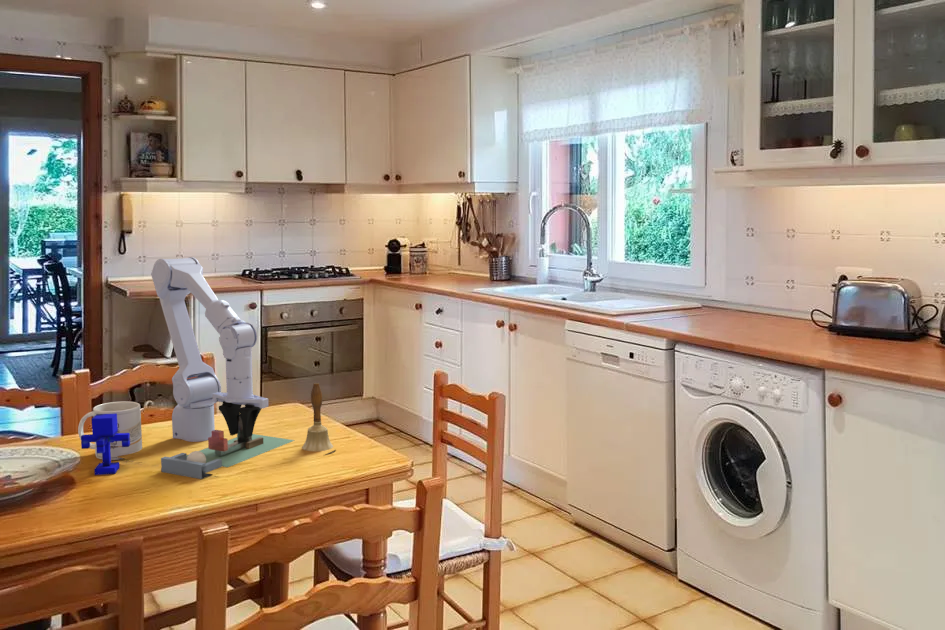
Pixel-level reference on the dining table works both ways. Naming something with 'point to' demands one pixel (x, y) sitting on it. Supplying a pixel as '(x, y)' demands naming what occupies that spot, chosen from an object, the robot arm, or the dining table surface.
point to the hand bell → (317, 426)
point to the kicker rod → (221, 443)
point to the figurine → (105, 441)
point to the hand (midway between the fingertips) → (241, 435)
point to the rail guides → (253, 442)
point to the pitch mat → (245, 450)
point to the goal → (188, 466)
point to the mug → (119, 426)
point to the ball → (197, 457)
